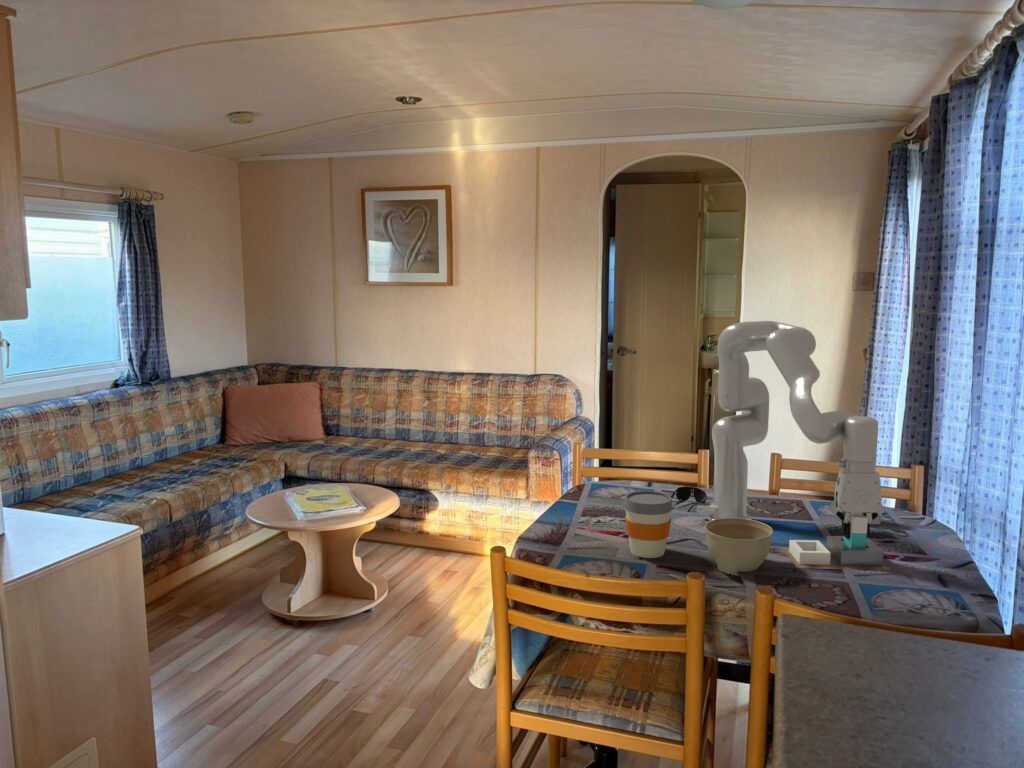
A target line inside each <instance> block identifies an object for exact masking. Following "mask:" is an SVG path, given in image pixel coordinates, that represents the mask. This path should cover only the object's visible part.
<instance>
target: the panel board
mask: <svg viewBox="0 0 1024 768" xmlns="http://www.w3.org/2000/svg"><path fill="white" fill-rule="evenodd" d="M781 549H782V551H783V552H784V553H785V554H786V556H787V557H788V558H789V560H790V561H791V563H792V564H793V566H795V568H796V569H818V570H819V569H822V570H823V569H824V570H827V569H828V570H831V569H832V570H863V571H865V570H867V571H868V570H869V571H870V570H872V571H875V570H876V571H890V570H891V569H890V568H889V567H888V566H887V565H886V564H884V563H883V567H864V566H840V565H839V564H838V563H837V562H836V560H835V559H834V558H833V557H832V556H831V555H830V565H825V564H799V563H798V562H797V560H796V559H795V558H794V557H793V555H792V554H791V553H790V552H789V546H788V547H786V546H785V547H781Z"/></svg>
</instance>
